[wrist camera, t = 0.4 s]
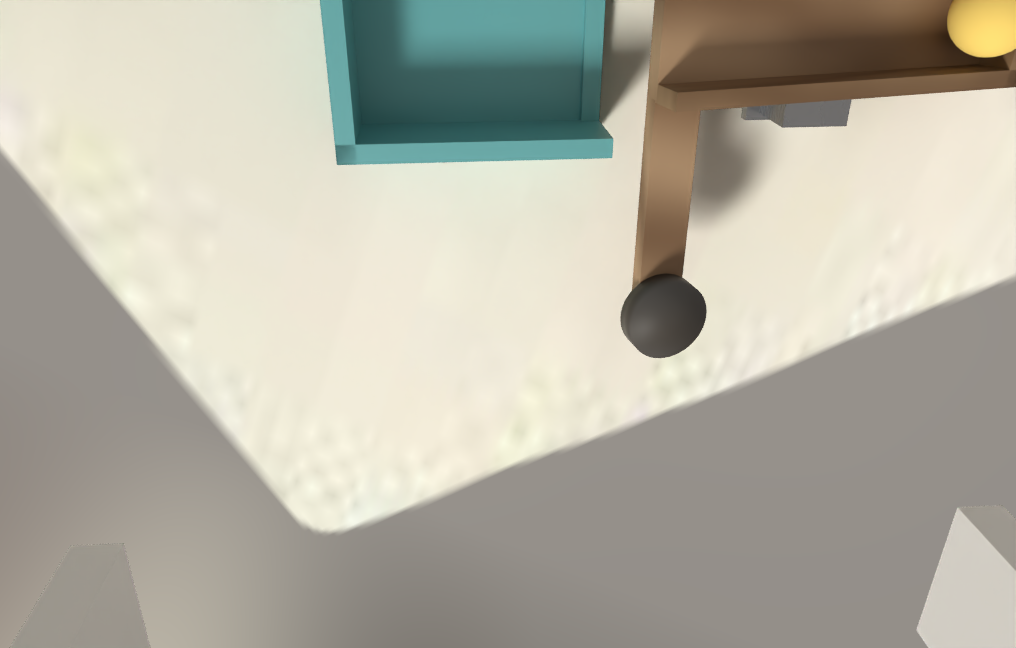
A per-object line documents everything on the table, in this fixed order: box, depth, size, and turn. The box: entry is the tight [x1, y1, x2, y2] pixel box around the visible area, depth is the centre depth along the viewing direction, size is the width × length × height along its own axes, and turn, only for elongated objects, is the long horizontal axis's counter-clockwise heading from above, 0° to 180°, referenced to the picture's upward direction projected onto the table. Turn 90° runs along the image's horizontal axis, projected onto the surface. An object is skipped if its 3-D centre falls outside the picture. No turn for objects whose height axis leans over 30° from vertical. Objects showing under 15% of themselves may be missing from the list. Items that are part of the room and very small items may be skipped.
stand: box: [741, 99, 851, 127], centre depth 33 cm, size 10×4×3 cm, turn 0°
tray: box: [320, 0, 613, 165], centre depth 31 cm, size 11×11×4 cm
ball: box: [947, 0, 1016, 57], centre depth 31 cm, size 3×3×3 cm
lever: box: [621, 0, 1016, 358], centre depth 33 cm, size 17×17×4 cm
